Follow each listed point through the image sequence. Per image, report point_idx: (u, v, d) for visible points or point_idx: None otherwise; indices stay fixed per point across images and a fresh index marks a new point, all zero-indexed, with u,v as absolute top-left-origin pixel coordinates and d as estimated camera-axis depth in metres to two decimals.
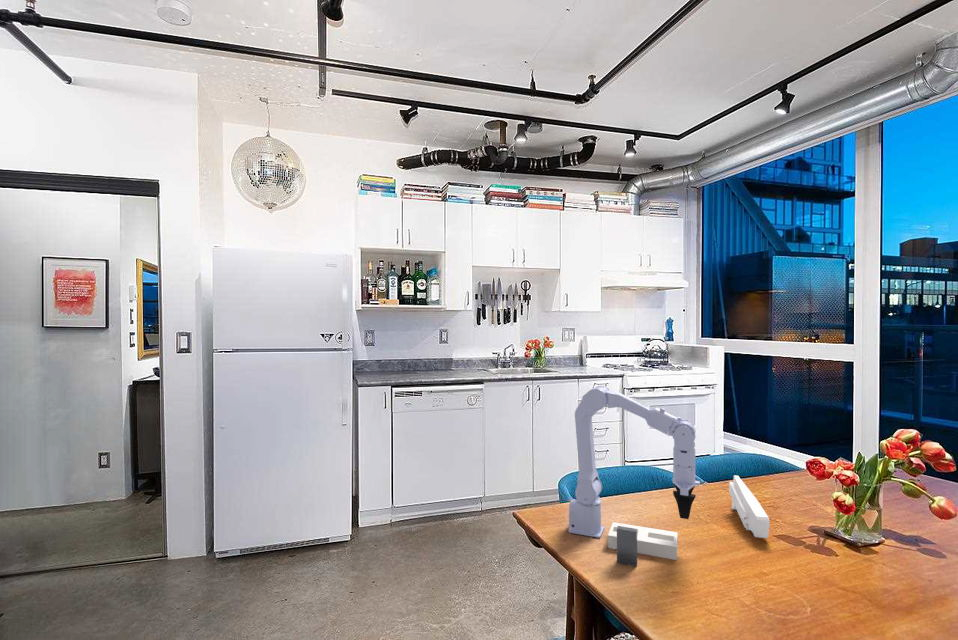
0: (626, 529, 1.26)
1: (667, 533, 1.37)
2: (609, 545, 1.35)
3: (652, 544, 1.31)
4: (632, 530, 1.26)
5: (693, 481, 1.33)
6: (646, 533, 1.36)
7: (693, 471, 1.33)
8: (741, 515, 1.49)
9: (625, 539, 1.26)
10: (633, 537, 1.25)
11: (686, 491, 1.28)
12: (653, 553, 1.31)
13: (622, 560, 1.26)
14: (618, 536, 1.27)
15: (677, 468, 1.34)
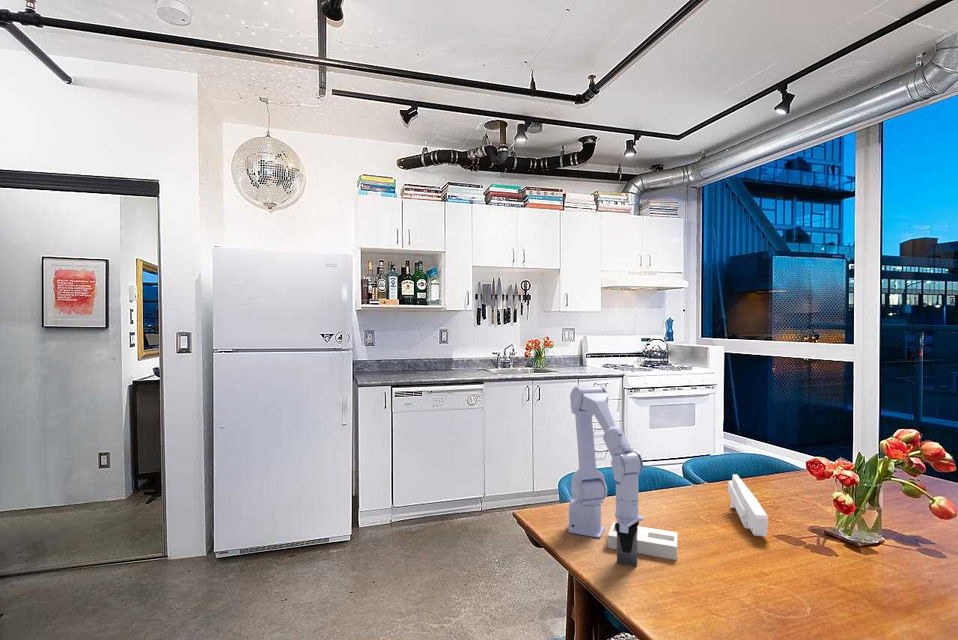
0: None
1: (667, 533, 1.37)
2: (609, 545, 1.35)
3: (652, 544, 1.31)
4: None
5: (635, 516, 1.24)
6: (646, 533, 1.36)
7: (635, 506, 1.24)
8: (740, 513, 1.50)
9: None
10: None
11: (626, 528, 1.20)
12: (653, 553, 1.31)
13: (622, 560, 1.26)
14: (618, 536, 1.27)
15: (619, 502, 1.25)
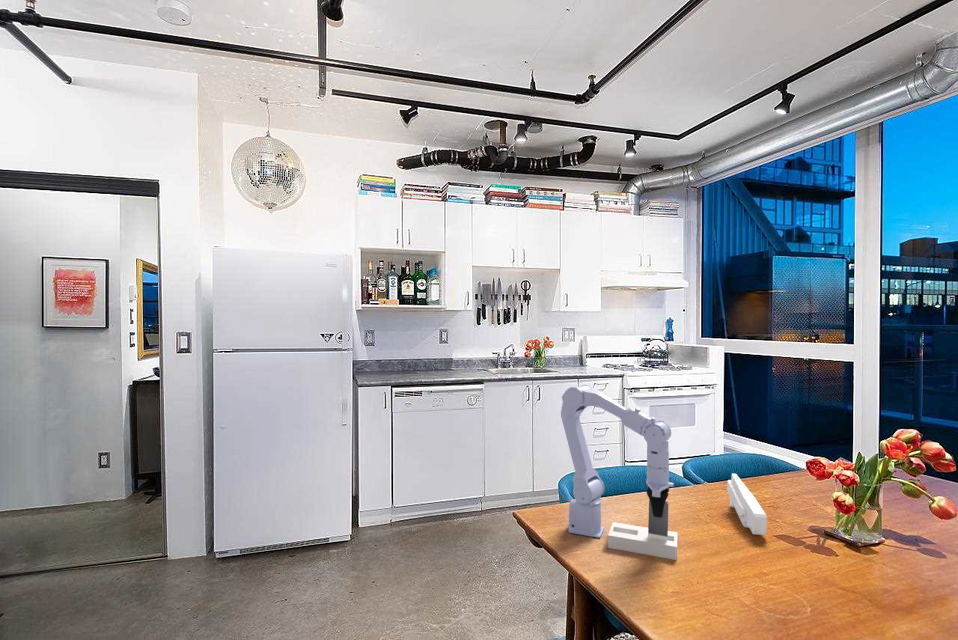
0: None
1: None
2: (609, 545, 1.35)
3: (652, 544, 1.31)
4: None
5: (666, 482, 1.31)
6: (646, 533, 1.36)
7: (666, 472, 1.31)
8: (739, 512, 1.51)
9: None
10: (665, 509, 1.32)
11: (658, 492, 1.27)
12: (653, 553, 1.31)
13: (653, 531, 1.33)
14: (650, 508, 1.34)
15: (650, 469, 1.33)
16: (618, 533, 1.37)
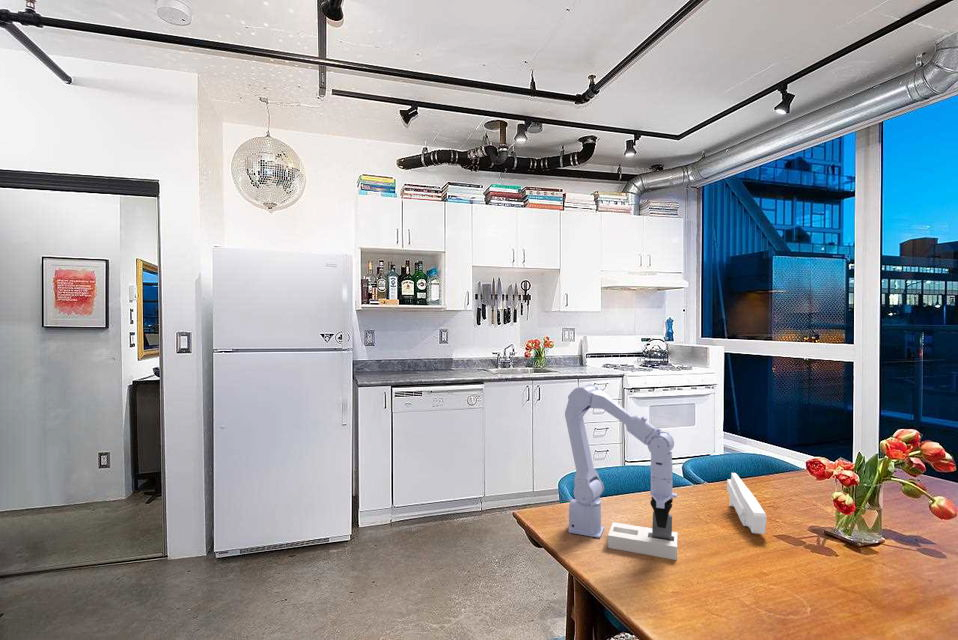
0: None
1: None
2: (609, 545, 1.35)
3: (652, 544, 1.31)
4: None
5: (670, 493, 1.32)
6: (646, 533, 1.36)
7: (670, 483, 1.32)
8: (738, 511, 1.52)
9: None
10: (668, 522, 1.33)
11: (662, 503, 1.28)
12: (653, 553, 1.31)
13: None
14: (654, 521, 1.34)
15: (654, 480, 1.33)
16: (618, 533, 1.37)
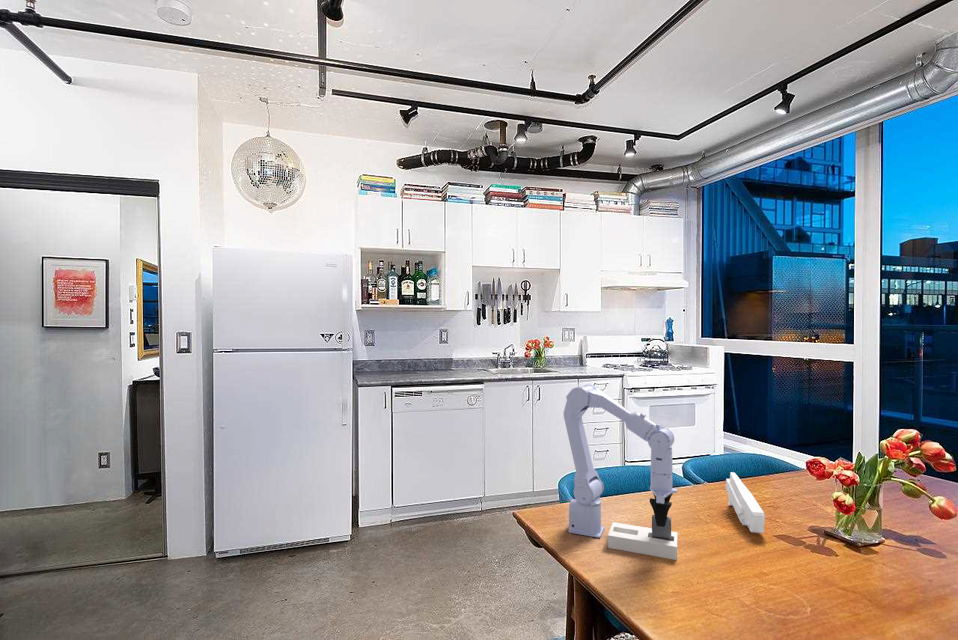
0: None
1: None
2: (609, 545, 1.35)
3: (652, 544, 1.31)
4: None
5: (670, 489, 1.32)
6: (646, 533, 1.36)
7: (670, 479, 1.32)
8: (737, 511, 1.53)
9: (660, 527, 1.34)
10: (667, 525, 1.33)
11: (662, 499, 1.28)
12: (653, 553, 1.31)
13: None
14: (653, 524, 1.34)
15: (654, 476, 1.33)
16: (618, 533, 1.37)
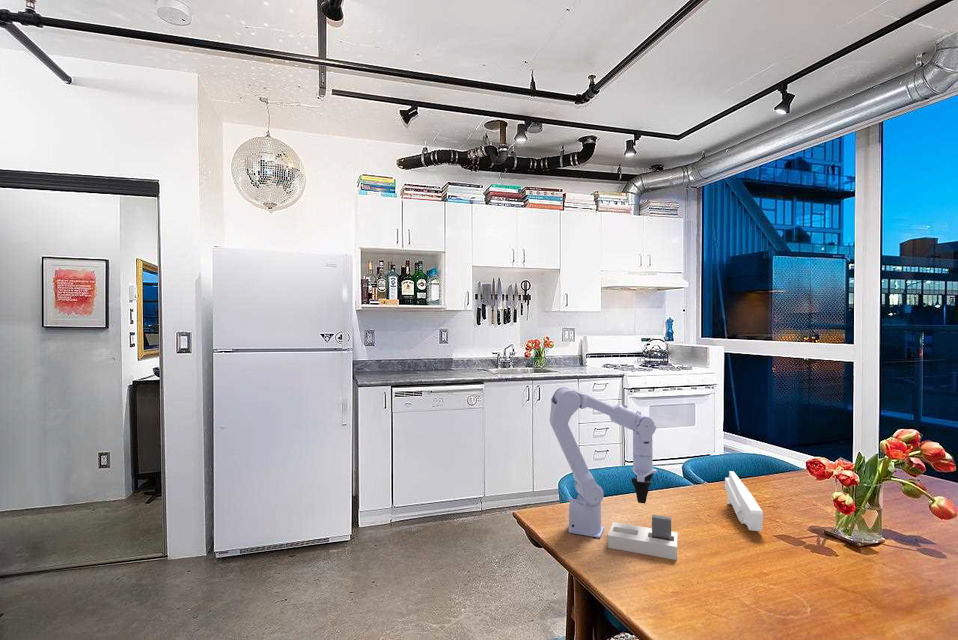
0: (661, 517, 1.34)
1: None
2: (609, 545, 1.35)
3: (652, 544, 1.31)
4: (666, 518, 1.34)
5: (650, 469, 1.46)
6: (646, 533, 1.36)
7: (650, 460, 1.46)
8: (736, 509, 1.54)
9: (660, 527, 1.34)
10: (668, 525, 1.33)
11: (642, 477, 1.41)
12: (653, 553, 1.31)
13: None
14: (653, 524, 1.34)
15: (636, 457, 1.47)
16: (618, 533, 1.37)
